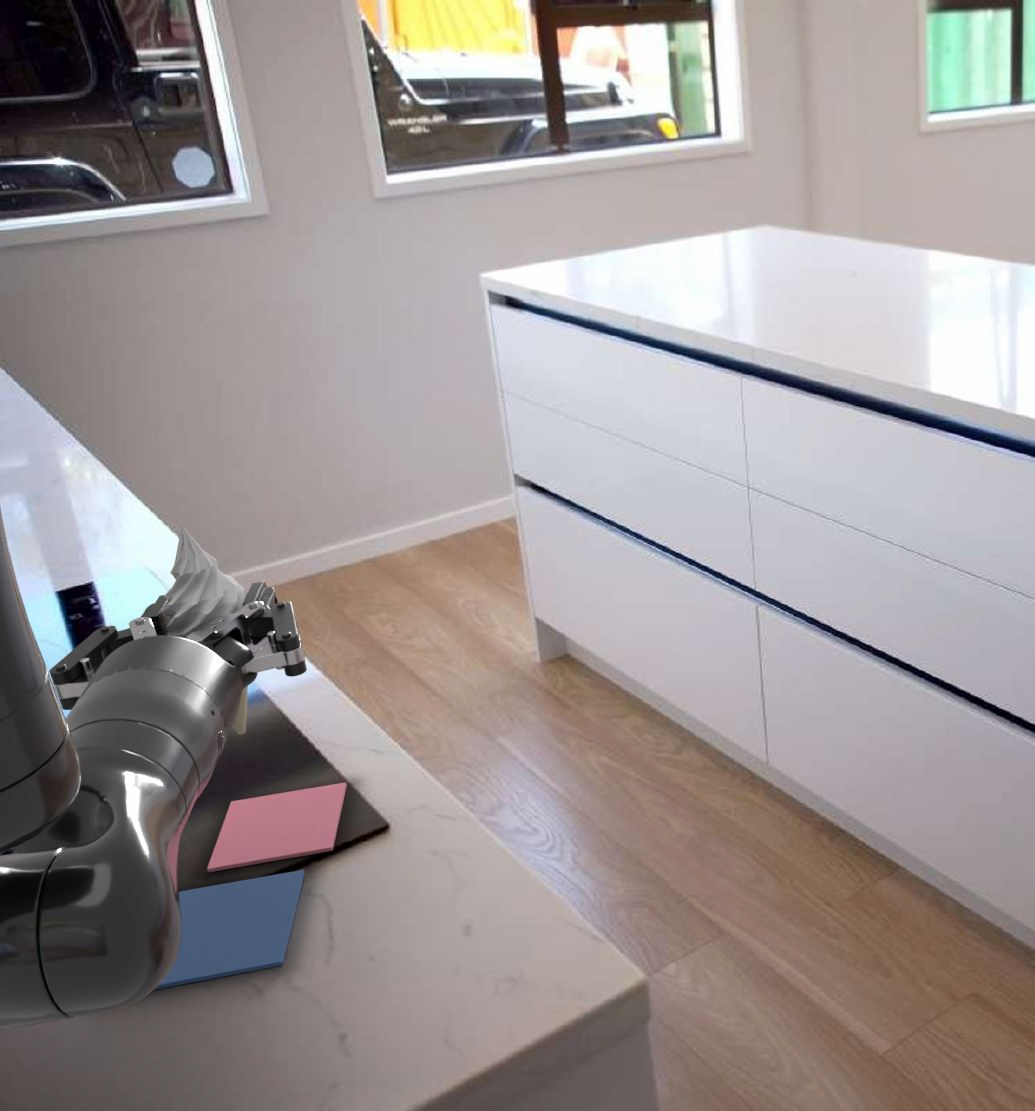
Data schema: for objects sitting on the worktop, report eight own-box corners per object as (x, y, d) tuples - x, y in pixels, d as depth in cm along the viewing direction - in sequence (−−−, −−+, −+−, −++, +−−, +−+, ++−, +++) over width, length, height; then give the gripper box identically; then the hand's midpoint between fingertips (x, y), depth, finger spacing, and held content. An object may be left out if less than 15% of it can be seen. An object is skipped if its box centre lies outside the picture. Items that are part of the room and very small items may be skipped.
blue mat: (103, 999, 74) (101, 995, 74) (143, 901, 82) (142, 898, 82) (282, 965, 76) (281, 961, 76) (305, 873, 84) (304, 869, 84)
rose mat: (207, 872, 84) (206, 869, 84) (231, 804, 92) (231, 801, 91) (332, 850, 86) (331, 847, 86) (347, 785, 93) (346, 782, 93)
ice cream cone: (220, 763, 80) (154, 547, 74) (187, 737, 84) (122, 528, 77) (295, 729, 84) (239, 520, 78) (261, 705, 87) (204, 502, 81)
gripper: (272, 650, 67) (319, 533, 82) (-24, 694, 65) (81, 564, 80) (304, 770, 70) (344, 635, 85) (23, 816, 68) (116, 668, 83)
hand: (217, 601), depth 82 cm, fingers closed on ice cream cone, 5 cm apart
